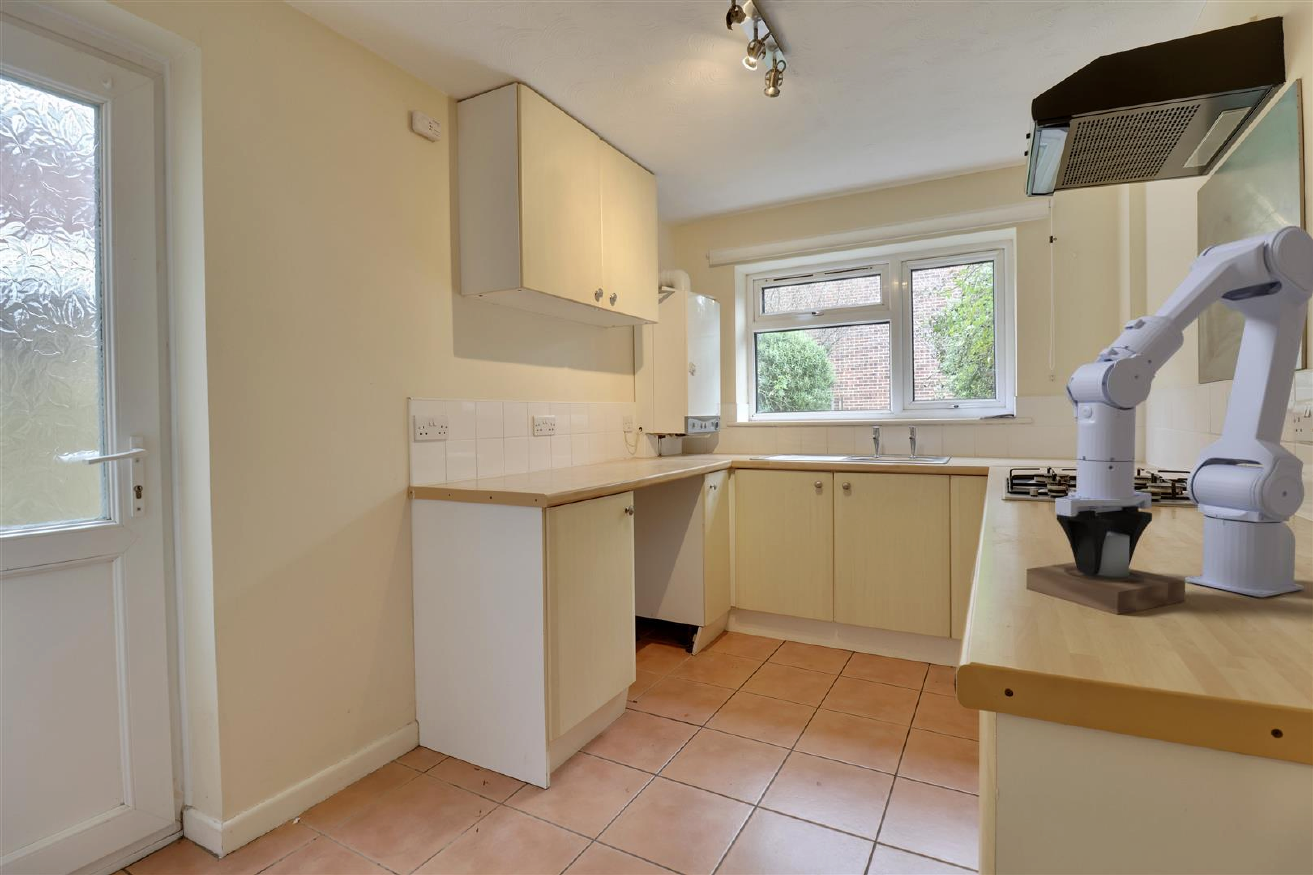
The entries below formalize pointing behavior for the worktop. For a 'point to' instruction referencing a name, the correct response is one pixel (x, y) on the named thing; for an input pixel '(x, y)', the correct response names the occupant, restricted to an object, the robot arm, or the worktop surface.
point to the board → (1107, 588)
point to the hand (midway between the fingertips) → (1102, 570)
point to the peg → (1114, 558)
